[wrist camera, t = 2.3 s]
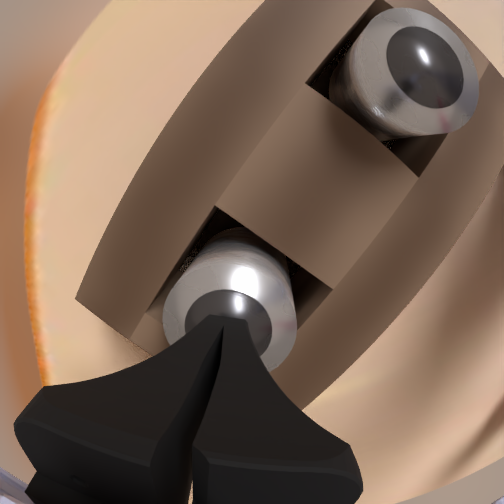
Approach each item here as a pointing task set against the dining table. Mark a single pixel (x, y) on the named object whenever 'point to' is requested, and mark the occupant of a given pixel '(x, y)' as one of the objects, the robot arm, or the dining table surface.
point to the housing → (298, 190)
